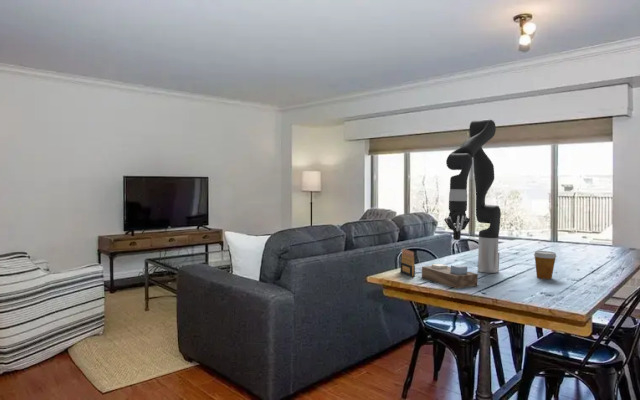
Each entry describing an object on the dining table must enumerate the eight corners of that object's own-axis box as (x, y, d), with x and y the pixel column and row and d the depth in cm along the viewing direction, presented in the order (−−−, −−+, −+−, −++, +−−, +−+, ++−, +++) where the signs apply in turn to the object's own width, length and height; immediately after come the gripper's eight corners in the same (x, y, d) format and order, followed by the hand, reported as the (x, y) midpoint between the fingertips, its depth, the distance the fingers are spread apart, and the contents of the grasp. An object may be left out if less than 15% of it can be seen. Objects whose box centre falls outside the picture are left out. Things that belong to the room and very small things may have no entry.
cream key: (439, 272, 203) (440, 263, 203) (447, 274, 199) (447, 265, 199) (431, 273, 201) (432, 264, 201) (439, 275, 197) (439, 266, 196)
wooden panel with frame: (414, 276, 203) (415, 251, 203) (411, 277, 203) (412, 251, 202) (403, 272, 213) (404, 247, 213) (400, 272, 213) (400, 247, 212)
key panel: (441, 275, 207) (442, 264, 207) (477, 285, 188) (477, 274, 187) (421, 277, 202) (422, 266, 202) (456, 288, 182) (456, 276, 182)
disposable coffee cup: (554, 276, 208) (555, 251, 207) (556, 280, 199) (557, 254, 199) (532, 274, 212) (533, 250, 211) (533, 278, 203) (534, 252, 203)
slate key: (458, 273, 192) (459, 264, 192) (467, 275, 188) (467, 266, 188) (450, 274, 190) (450, 265, 190) (458, 276, 186) (458, 267, 186)
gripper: (463, 199, 195) (462, 238, 196) (440, 199, 189) (438, 239, 190) (476, 200, 188) (474, 240, 189) (452, 200, 183) (450, 241, 183)
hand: (456, 239), depth 189 cm, fingers closed
